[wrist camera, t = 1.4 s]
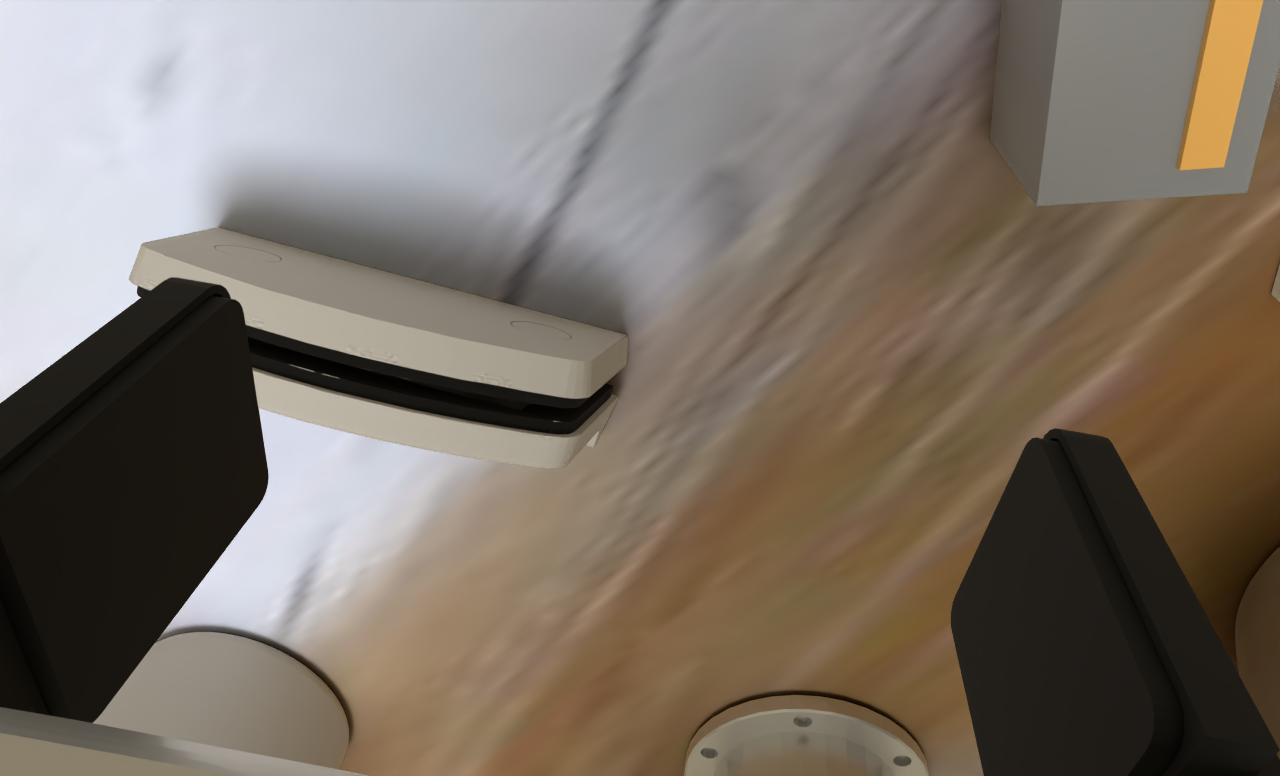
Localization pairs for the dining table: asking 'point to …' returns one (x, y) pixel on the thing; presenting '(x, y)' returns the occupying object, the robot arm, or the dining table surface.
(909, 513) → the dining table surface
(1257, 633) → the plant pot
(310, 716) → the cylinder vase
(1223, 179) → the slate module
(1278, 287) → the panel
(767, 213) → the dining table surface
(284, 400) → the off-white grooved curved block
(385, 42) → the dining table surface
